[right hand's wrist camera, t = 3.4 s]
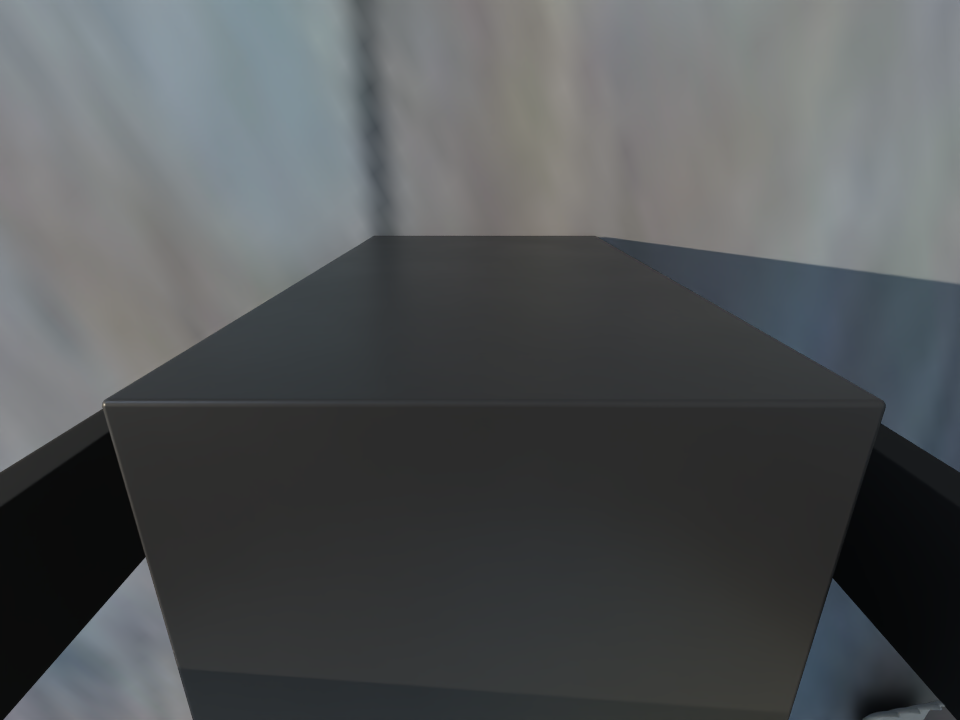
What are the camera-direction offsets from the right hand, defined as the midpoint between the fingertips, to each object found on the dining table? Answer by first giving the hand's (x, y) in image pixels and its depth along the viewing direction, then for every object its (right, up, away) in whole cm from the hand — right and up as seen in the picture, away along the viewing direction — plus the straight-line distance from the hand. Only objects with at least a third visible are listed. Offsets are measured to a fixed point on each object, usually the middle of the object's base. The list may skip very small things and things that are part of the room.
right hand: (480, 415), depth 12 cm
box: (0, -8, +7) cm, 10 cm away
